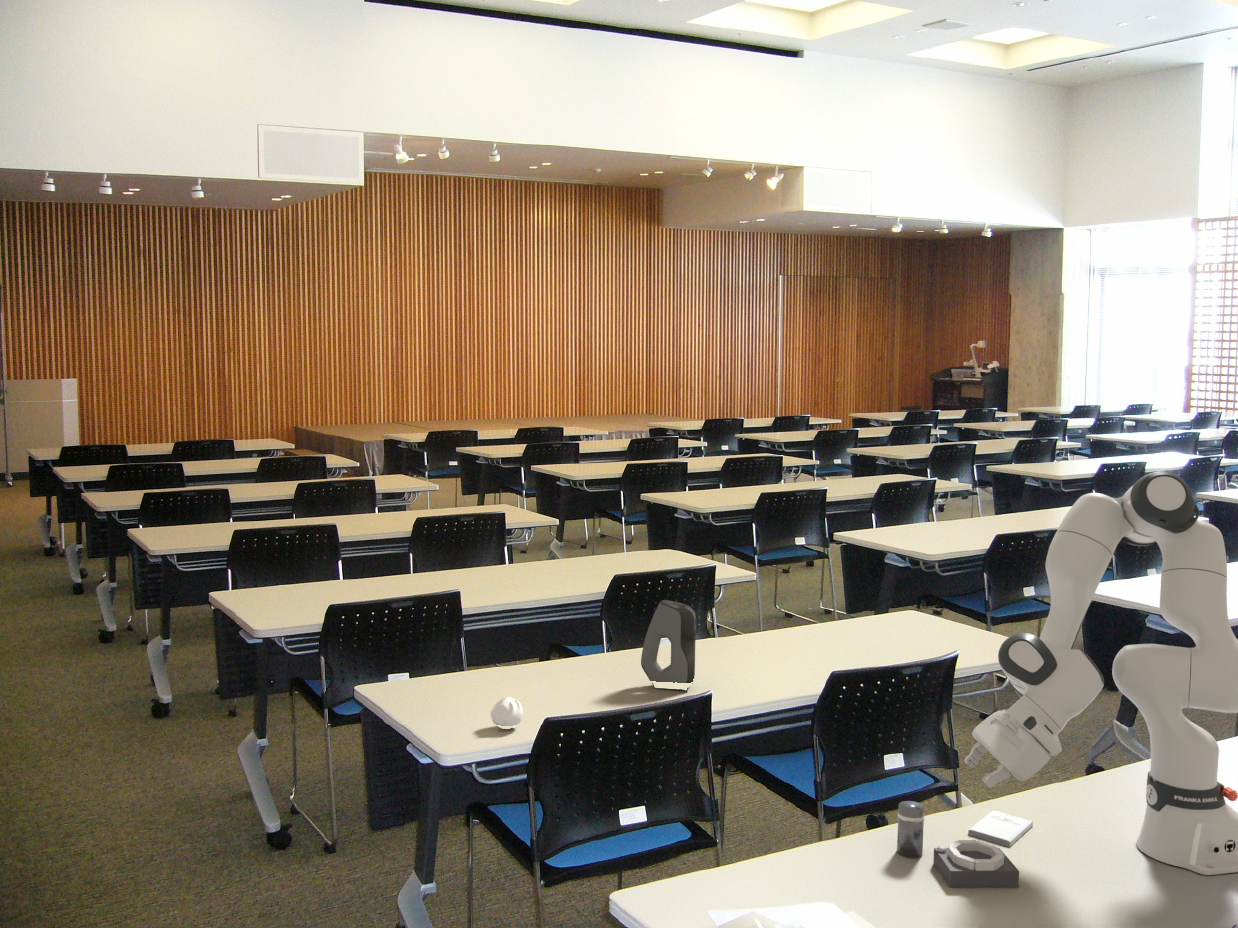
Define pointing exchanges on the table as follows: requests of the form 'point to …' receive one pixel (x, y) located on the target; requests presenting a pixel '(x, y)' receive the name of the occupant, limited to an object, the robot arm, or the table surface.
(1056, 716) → the robot arm
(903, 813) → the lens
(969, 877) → the octagonal socket base
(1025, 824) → the external hard drive
